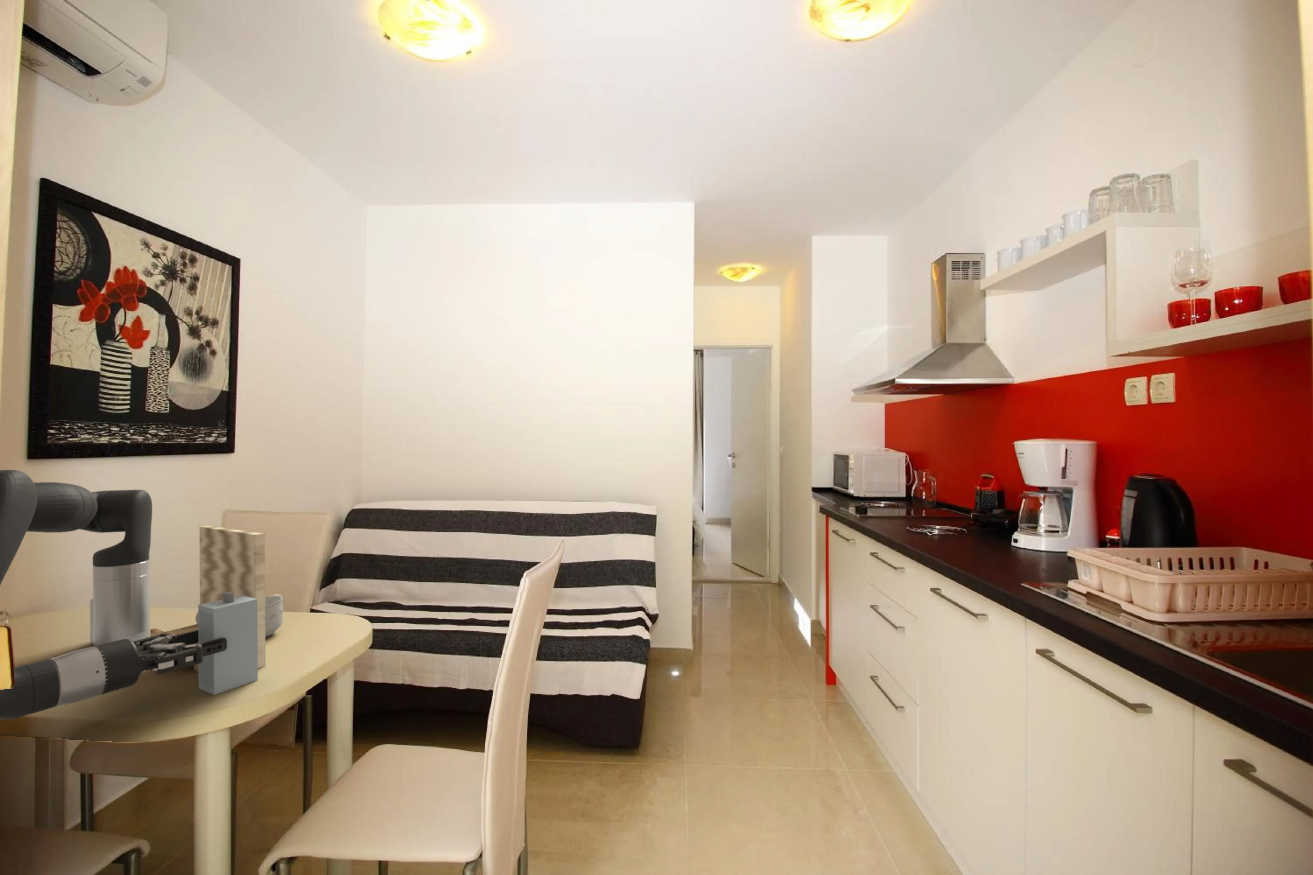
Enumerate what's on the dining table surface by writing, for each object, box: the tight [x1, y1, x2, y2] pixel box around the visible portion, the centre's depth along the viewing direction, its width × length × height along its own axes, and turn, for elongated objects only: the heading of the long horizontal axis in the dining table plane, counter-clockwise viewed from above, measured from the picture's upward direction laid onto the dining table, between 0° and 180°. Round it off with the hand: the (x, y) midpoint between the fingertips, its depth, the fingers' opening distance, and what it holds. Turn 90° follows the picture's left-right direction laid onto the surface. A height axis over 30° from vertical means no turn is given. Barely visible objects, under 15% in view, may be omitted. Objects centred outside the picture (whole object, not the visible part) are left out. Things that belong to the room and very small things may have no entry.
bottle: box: [197, 592, 259, 696], centre depth 106 cm, size 6×7×17 cm
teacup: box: [265, 593, 284, 638], centre depth 133 cm, size 14×11×8 cm
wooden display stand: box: [149, 525, 266, 673], centre depth 115 cm, size 22×11×26 cm, turn 61°
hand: (213, 638), depth 104 cm, fingers open, 8 cm apart
